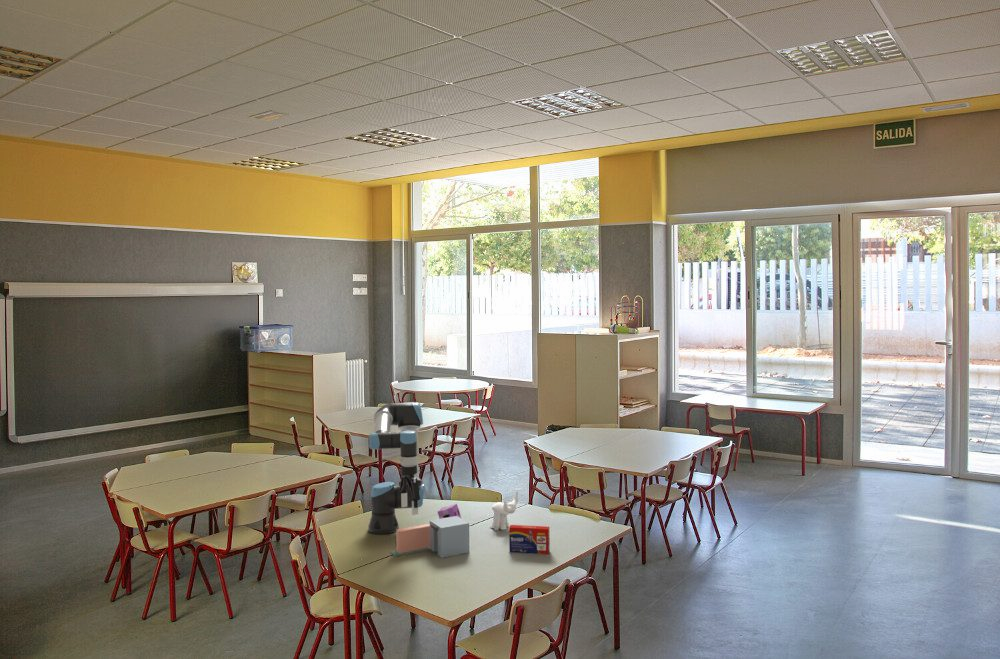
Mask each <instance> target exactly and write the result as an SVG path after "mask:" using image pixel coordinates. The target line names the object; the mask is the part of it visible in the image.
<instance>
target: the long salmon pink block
mask: <svg viewBox="0 0 1000 659" xmlns="http://www.w3.org/2000/svg"><path fill="white" fill-rule="evenodd" d="M395 534H396V537H395V538H396V550H397V552H398V553H403V552H408V551H414V550H419V549H424V548H430V523H426V524H425V523H424V524H420V525H414V526H408V527H404V528H399V529H396V531H395Z"/></svg>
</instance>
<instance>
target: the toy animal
mask: <svg viewBox="0 0 1000 659" xmlns="http://www.w3.org/2000/svg"><path fill="white" fill-rule="evenodd" d="M518 502H519V495H518V490H516V491H515V493H514V496H513V499H512V501H509V502H507V501H506V500H504V501H503V502H502V501H498V502H495V503H494V504H492V506H491V509H492V511H493V521H492V523H491V525H490V528H491V529H493V530H495V531H499V530H501V531H502V530H503V531H505V529H506V530H507V529H508V528H509V527H510V524H509V522H508V518H507V516H508V515H510V514H514V513H515V512H516V509H517V505H518ZM508 526H509V527H508Z"/></svg>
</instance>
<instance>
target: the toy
mask: <svg viewBox="0 0 1000 659" xmlns="http://www.w3.org/2000/svg"><path fill="white" fill-rule="evenodd" d="M460 512H461V511H460V509H459V506H458V503H453V504H451V505H448V506H443V507H441V508H440V509H439V510H438V511H437V515H438V517H439V518H438V519H441V518H447V517H453V516H458V517H460V518H461V519H463V518H462V516H461V513H460Z"/></svg>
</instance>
